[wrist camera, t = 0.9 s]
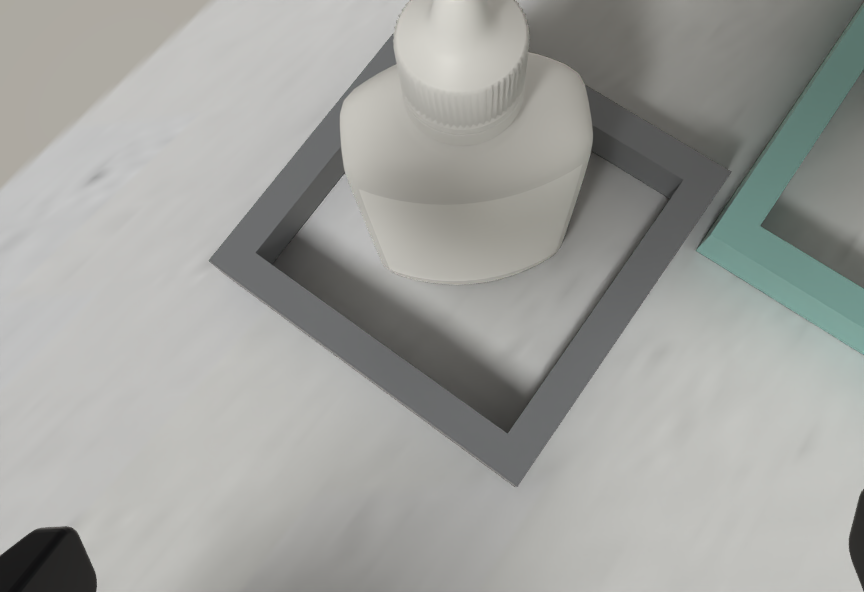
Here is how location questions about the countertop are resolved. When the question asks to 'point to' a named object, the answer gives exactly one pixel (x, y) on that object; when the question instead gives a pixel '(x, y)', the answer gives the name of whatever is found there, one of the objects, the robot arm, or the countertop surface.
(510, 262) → the eye dropper bottle
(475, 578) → the countertop surface
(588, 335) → the upper socket
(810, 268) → the lower socket
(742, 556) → the countertop surface
